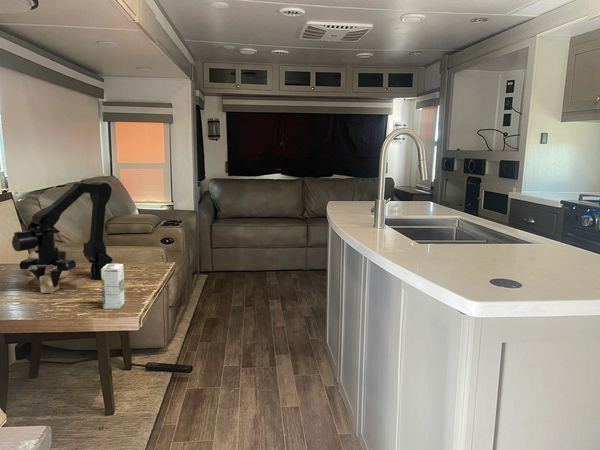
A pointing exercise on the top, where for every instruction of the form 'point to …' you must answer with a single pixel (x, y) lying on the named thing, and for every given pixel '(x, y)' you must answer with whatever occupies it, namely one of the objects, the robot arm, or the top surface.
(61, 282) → the board
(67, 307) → the top surface
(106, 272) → the syrup box
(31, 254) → the candle
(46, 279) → the gauge
